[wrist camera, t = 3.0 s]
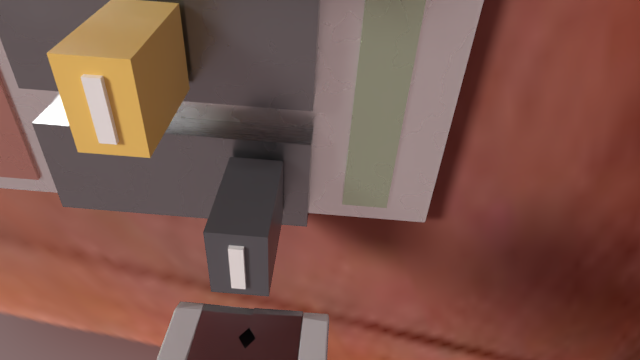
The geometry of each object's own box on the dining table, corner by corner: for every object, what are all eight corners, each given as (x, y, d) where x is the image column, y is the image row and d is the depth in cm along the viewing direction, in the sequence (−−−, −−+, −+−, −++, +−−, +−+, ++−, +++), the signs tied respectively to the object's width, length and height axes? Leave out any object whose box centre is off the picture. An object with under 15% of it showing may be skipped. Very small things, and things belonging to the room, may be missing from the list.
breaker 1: (113, -2, 18) (43, 55, 14) (178, 3, 18) (128, 62, 14) (131, 84, 20) (75, 155, 16) (189, 88, 20) (148, 161, 16)
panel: (-257, -317, 16) (-364, -337, 13) (539, -261, 15) (572, -272, 13) (-21, 168, 28) (-55, 202, 26) (422, 204, 28) (428, 241, 26)
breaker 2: (229, 156, 22) (202, 236, 18) (283, 160, 22) (267, 241, 18) (234, 213, 25) (210, 295, 21) (282, 217, 25) (267, 300, 21)
